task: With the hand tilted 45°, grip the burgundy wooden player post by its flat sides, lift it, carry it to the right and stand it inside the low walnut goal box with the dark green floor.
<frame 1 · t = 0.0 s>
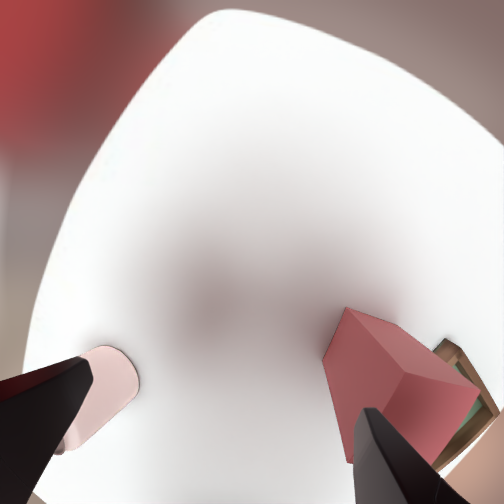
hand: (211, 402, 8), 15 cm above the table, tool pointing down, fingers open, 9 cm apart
goal box: (428, 416, 21), on the table
can: (115, 372, 25), on the table
player post: (360, 343, 22), on the table
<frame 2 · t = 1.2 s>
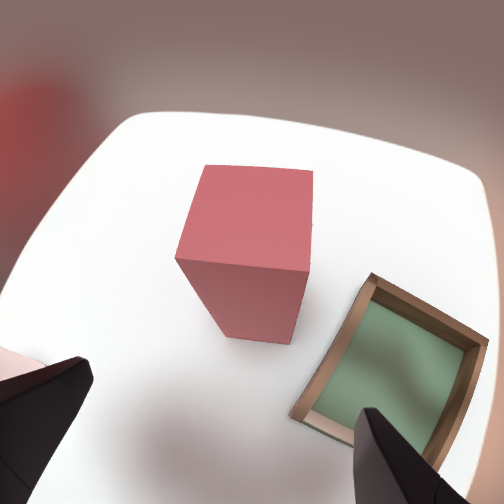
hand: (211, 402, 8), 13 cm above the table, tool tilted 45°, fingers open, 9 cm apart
goal box: (394, 383, 19), on the table
can: (38, 392, 19), on the table
player post: (261, 310, 23), on the table
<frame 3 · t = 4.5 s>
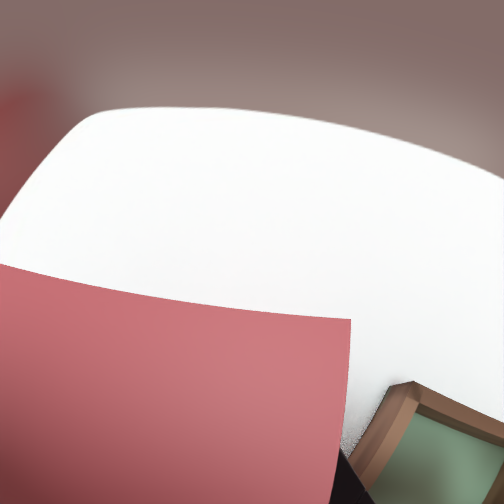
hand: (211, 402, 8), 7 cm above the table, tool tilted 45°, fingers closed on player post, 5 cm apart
player post: (232, 427, 13), on the table, touching gripper
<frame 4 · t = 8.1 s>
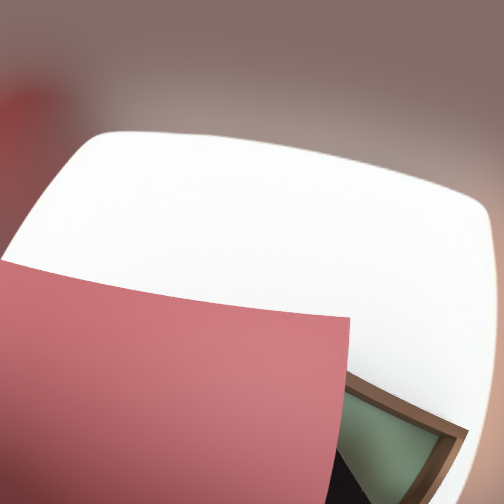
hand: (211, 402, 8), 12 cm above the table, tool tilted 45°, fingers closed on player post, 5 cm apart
goal box: (347, 472, 15), on the table
player post: (236, 427, 13), point 5 cm above the table, touching gripper
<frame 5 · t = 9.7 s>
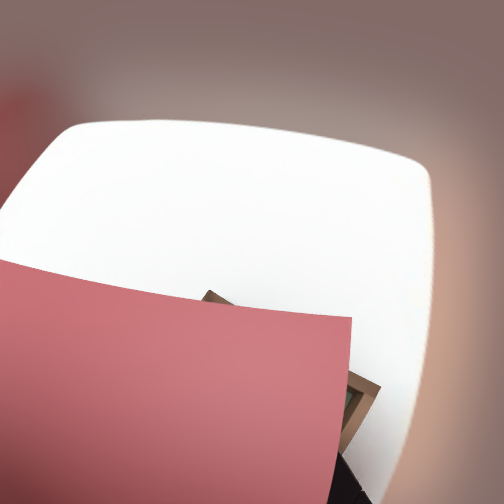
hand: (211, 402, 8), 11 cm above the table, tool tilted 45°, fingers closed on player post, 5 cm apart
goal box: (243, 419, 17), on the table
player post: (236, 427, 13), point 5 cm above the table, touching gripper
when the fingers open (8 cm above the table, at t = 11.4 s): player post stays where it is, resting on goal box.
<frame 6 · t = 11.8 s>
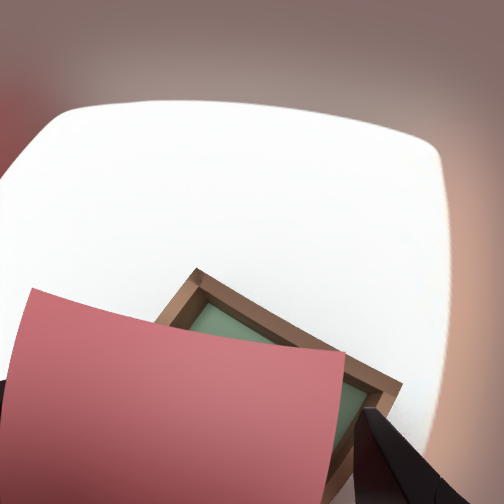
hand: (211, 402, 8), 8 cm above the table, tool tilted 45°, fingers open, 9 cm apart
goal box: (236, 424, 14), on the table
player post: (235, 425, 14), resting on goal box
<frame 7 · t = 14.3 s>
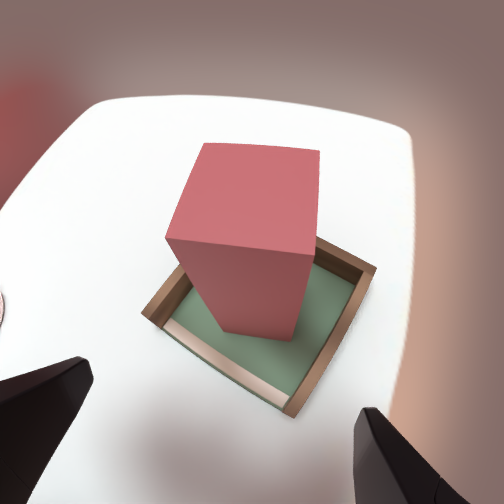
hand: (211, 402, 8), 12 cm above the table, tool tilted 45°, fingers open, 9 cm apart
goal box: (262, 307, 22), on the table
player post: (262, 305, 22), resting on goal box
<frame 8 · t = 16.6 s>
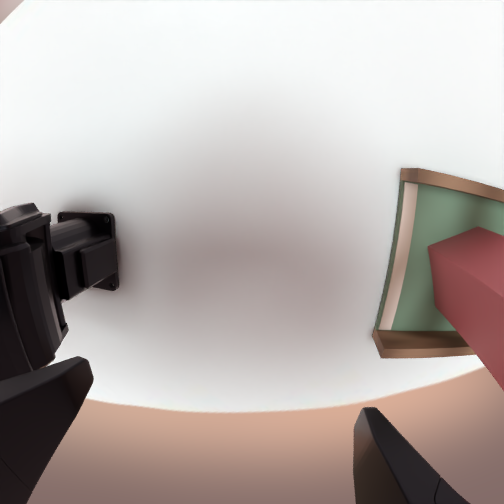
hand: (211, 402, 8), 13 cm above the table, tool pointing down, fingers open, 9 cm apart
goal box: (456, 265, 18), on the table
player post: (458, 266, 17), resting on goal box
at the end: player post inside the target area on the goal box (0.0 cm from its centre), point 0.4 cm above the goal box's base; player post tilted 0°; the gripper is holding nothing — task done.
